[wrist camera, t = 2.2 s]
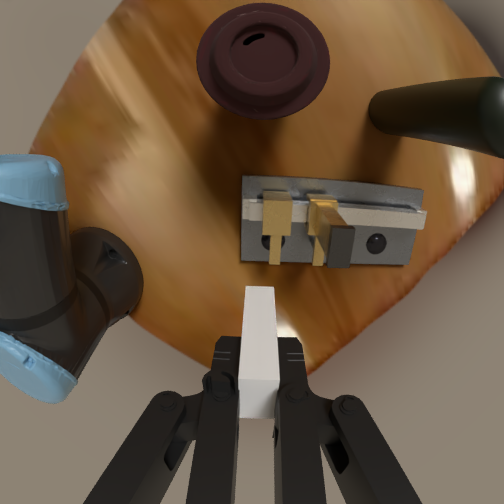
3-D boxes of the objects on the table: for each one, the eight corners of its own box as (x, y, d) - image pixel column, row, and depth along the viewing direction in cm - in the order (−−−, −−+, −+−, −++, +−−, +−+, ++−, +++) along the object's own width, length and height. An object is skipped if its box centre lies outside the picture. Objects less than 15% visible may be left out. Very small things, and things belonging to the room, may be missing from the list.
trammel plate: (241, 257, 39) (238, 279, 34) (242, 174, 35) (239, 184, 29) (405, 261, 39) (423, 281, 34) (420, 188, 34) (443, 200, 29)
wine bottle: (393, 143, 32) (607, 226, 5) (360, 114, 31) (590, 138, 4) (415, 111, 30) (627, 149, 3) (383, 81, 29) (602, 60, 2)
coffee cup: (300, 125, 32) (330, 127, 18) (216, 119, 32) (186, 115, 18) (306, 49, 28) (338, 4, 14) (222, 42, 28) (198, -7, 14)
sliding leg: (300, 250, 37) (316, 304, 26) (305, 191, 34) (327, 225, 23) (323, 250, 37) (346, 304, 26) (329, 193, 34) (361, 227, 23)
